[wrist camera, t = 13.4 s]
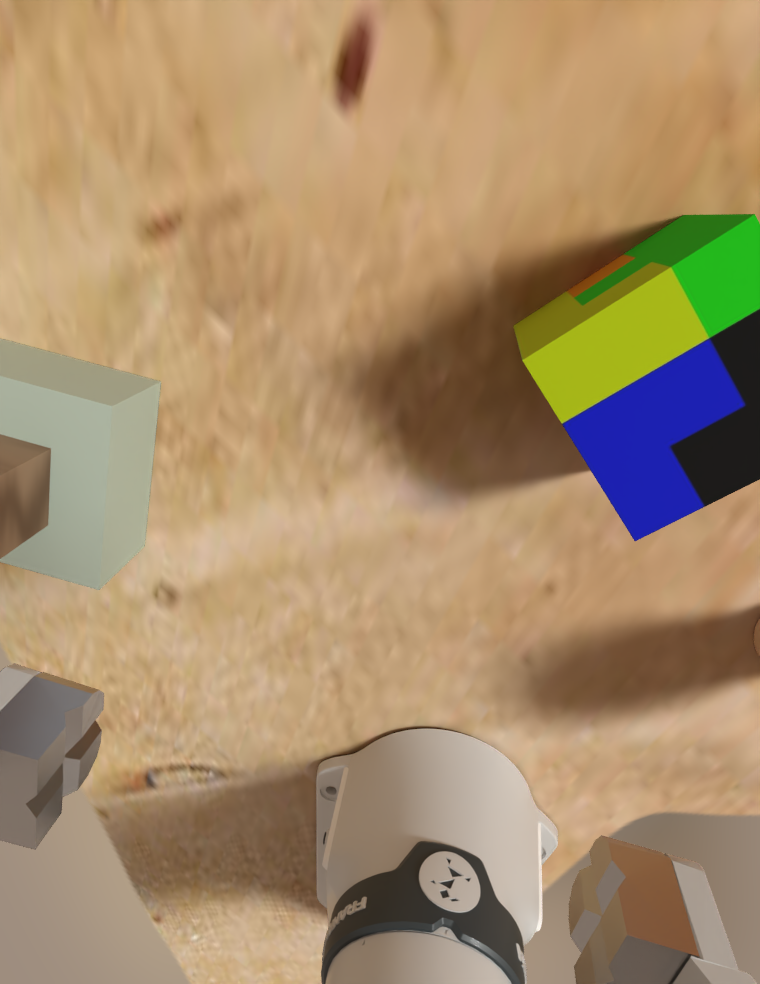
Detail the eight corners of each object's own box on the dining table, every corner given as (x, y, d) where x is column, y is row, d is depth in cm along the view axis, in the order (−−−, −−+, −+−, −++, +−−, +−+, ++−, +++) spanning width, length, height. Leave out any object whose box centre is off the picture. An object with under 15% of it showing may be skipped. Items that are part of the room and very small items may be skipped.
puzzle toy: (600, 467, 40) (635, 541, 31) (513, 325, 38) (522, 360, 29) (767, 376, 37) (861, 428, 28) (683, 215, 35) (754, 214, 25)
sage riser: (144, 546, 47) (99, 590, 41) (-18, 500, 47) (-84, 538, 42) (161, 381, 42) (112, 406, 36) (-20, 333, 42) (-95, 350, 37)
